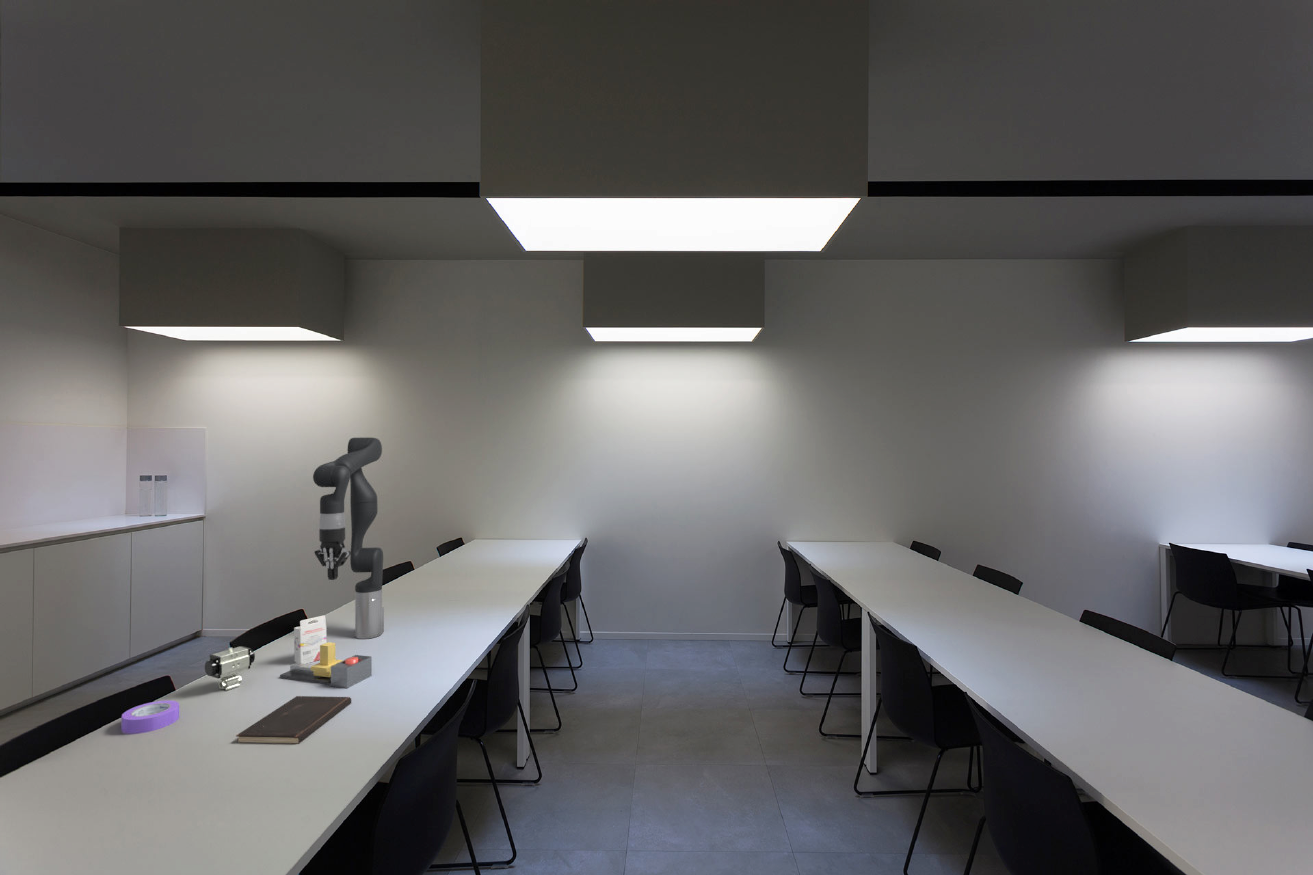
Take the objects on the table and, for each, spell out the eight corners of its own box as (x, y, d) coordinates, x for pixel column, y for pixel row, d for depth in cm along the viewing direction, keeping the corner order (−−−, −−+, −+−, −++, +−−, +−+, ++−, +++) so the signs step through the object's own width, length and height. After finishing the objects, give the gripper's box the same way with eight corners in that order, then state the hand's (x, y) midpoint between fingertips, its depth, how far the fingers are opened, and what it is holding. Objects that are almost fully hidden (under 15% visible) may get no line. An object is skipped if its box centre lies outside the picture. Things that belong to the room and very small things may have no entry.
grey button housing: (355, 673, 192) (355, 654, 192) (371, 675, 191) (371, 656, 191) (330, 686, 183) (330, 666, 183) (347, 688, 181) (347, 668, 181)
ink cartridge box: (320, 655, 210) (320, 612, 210) (327, 658, 207) (326, 614, 207) (293, 662, 203) (293, 618, 203) (300, 665, 200) (299, 620, 200)
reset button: (351, 672, 189) (351, 656, 189) (360, 673, 188) (360, 657, 188) (342, 676, 185) (342, 660, 186) (352, 677, 184) (352, 661, 185)
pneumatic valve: (204, 693, 178) (204, 652, 178) (246, 679, 188) (246, 640, 188) (214, 697, 175) (214, 655, 175) (256, 682, 186) (256, 643, 186)
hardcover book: (236, 744, 149) (236, 735, 149) (296, 704, 172) (296, 695, 172) (299, 745, 148) (299, 736, 148) (351, 705, 171) (351, 696, 171)
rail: (301, 668, 197) (301, 659, 197) (349, 674, 192) (349, 664, 192) (280, 677, 189) (279, 668, 189) (329, 684, 184) (329, 674, 184)
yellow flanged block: (328, 668, 193) (328, 639, 193) (344, 670, 192) (344, 641, 192) (310, 676, 187) (310, 646, 187) (326, 678, 185) (326, 648, 185)
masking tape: (186, 710, 167) (186, 697, 167) (169, 729, 156) (169, 714, 156) (133, 718, 163) (133, 703, 163) (112, 738, 152) (112, 722, 152)
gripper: (357, 525, 200) (358, 577, 200) (325, 524, 204) (325, 575, 204) (340, 529, 193) (340, 583, 193) (306, 527, 197) (307, 580, 197)
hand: (332, 579), depth 199 cm, fingers closed
